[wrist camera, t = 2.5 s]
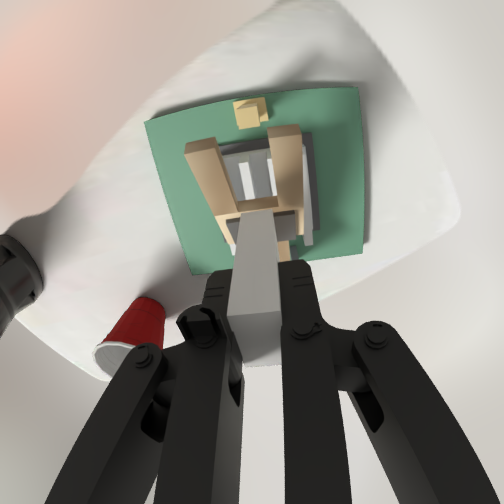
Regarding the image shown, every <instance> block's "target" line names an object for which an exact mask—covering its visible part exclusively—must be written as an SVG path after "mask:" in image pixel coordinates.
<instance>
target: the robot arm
mask: <svg viewBox="0 0 504 504" xmlns="http://www.w3.org/2000/svg"><path fill="white" fill-rule="evenodd" d="M42 289H43V284H42V279H41V275H40V273H39V270H38V268H37V266H36V264H35V262H34V261H33V259H32V258H31V256H30V255H29V253H28V252H27V251H26V250H25V249H24V247H23V246H22V245H21V244H20V243H19V242H17V241H16V240H15V239H13V238H12V237H10V236H7V235H0V338H1V336H2V335H3V333H4V331H5V329H6V328H7V326H8V325H9V324H10V322H11V321H12V319H13V318H14V316H15V315H16V314H17V313H19V312H20V311H22V310H23V309H25V308H26V307H28V306H29V305H31V304H33V303H34V302H35V301H36V300H37V298H38V297H39V296H40V294H41V293H42ZM205 289H206V291H205V292H204V298H203V301H202V304H201V305H196V306H192V307H190V308H188V309H186V310H185V311H184V312H183V313H181V314H180V315H179V317H178V319H177V321H176V324H177V325H178V327H179V329H180V331H181V333H182V335H183V337H184V339H185V341H184V342H183V343H181V344H178V345H175V346H172V347H169V348H165V349H162V350H161V349H160V348H159V346H158V345H156V344H154V343H148V342H145V343H142V344H138V345H137V346H135V347H134V348H132V349H131V350H130V352H129V353H128V354H127V355H126V357H125V359H124V360H123V362H122V363H121V365H120V367H119V368H118V370H117V372H116V373H115V375H114V376H113V378H112V380H111V381H110V383H109V385H108V387H107V388H106V390H105V391H104V393H103V395H102V396H101V398H100V400H99V401H98V403H97V405H96V407H95V408H94V410H93V412H92V413H91V415H90V417H89V419H88V420H87V422H86V424H85V426H84V428H83V429H82V431H81V433H80V435H79V437H78V438H77V440H76V442H75V444H74V446H73V448H72V450H71V451H70V453H69V455H68V457H67V459H66V461H65V463H64V465H63V467H62V469H61V471H60V473H59V475H58V477H57V479H56V481H55V483H54V485H53V487H52V489H51V491H50V493H49V495H48V497H47V500H46V501H45V504H144V503H145V501H146V499H147V496H148V494H149V492H150V490H151V488H152V486H153V483H154V481H155V479H156V477H157V482H156V489H155V496H154V503H153V504H239V485H240V466H241V444H242V424H243V404H244V384H245V381H244V376H243V373H242V361H243V363H244V366H245V367H259V366H271V365H282V383H283V384H282V385H283V414H284V454H285V455H284V458H285V504H352V498H351V486H350V475H349V465H348V457H347V449H346V441H345V433H344V426H343V419H342V413H341V405H340V399H339V393H338V390H339V391H347V393H348V395H349V397H350V399H351V401H352V404H353V406H354V407H355V410H356V412H357V413H358V416H359V418H360V420H361V422H362V424H363V426H364V428H365V430H366V432H367V435H368V436H369V439H370V441H371V443H372V445H373V447H374V449H375V451H376V454H377V456H378V458H379V460H380V462H381V464H382V466H383V468H384V471H385V473H386V475H387V477H388V479H389V481H390V484H391V486H392V488H393V490H394V492H395V495H396V497H397V499H398V501H399V504H500V501H499V499H498V497H497V495H496V493H495V490H494V488H493V486H492V484H491V482H490V480H489V478H488V476H487V474H486V472H485V470H484V468H483V466H482V464H481V462H480V460H479V459H478V457H477V455H476V453H475V451H474V449H473V447H472V446H471V444H470V442H469V440H468V439H467V437H466V435H465V433H464V432H463V430H462V428H461V427H460V425H459V423H458V422H457V420H456V418H455V417H454V415H453V414H452V412H451V410H450V409H449V407H448V405H447V404H446V402H445V401H444V399H443V398H442V396H441V394H440V393H439V391H438V390H437V389H436V387H435V385H434V384H433V382H432V381H431V379H430V378H429V376H428V375H427V373H426V372H425V371H424V369H423V368H422V366H421V365H420V363H419V362H418V360H417V359H416V358H415V356H414V355H413V353H412V352H411V351H410V349H409V348H408V346H407V345H406V343H405V342H404V341H403V339H402V338H401V337H400V335H399V334H398V333H397V331H396V330H395V329H394V328H393V327H392V326H391V325H389V324H387V323H385V322H382V321H370V322H366V323H364V324H362V325H361V326H359V327H358V328H357V330H356V331H353V330H344V329H339V328H335V327H333V326H331V325H329V324H328V323H327V322H326V321H325V320H324V319H323V318H322V315H321V312H320V307H319V303H318V298H317V294H316V289H315V285H314V280H313V277H312V272H311V267H310V265H309V264H308V263H307V262H306V261H305V260H304V259H298V260H291V261H283V262H280V259H279V251H278V244H277V237H276V230H275V224H274V217H273V211H272V209H268V210H261V211H254V212H247V213H241V216H240V223H239V230H238V237H237V244H236V251H235V258H234V265H233V269H225V270H217V271H214V272H213V273H212V275H211V276H210V277H209V278H208V280H207V284H206V288H205ZM157 474H158V476H157Z"/></svg>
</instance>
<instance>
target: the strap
mask: <svg viewBox="0 0 504 504" xmlns="http://www.w3.org/2000/svg"><path fill="white" fill-rule="evenodd" d="M267 133H268V139H269V145H270V151H271V158H272V164H273V170H274V177H275V184H276V191H277V196H270V197H263V198H256V199H249V200H243V201H237V198H236V195H235V192H234V189H233V186H232V183H231V180H230V177H229V175H228V172H227V169H226V166H225V163H224V160H223V157H222V154H221V152H220V149H219V146H218V143H217V140H216V137H210V138H205V139H201V140H196V141H192V142H188V143H186V144H185V150H184V156H185V158H186V160H187V162H188V164H189V166H190V168H191V170H192V172H193V174H194V176H195V178H196V180H197V182H198V184H199V187H200V189H201V191H202V193H203V195H204V197H205V199H206V201H207V203H208V205H209V207H210V209H211V211H212V213H213V215H214V217H215V219H216V221H217V223H218V225H219V227H220V229H221V231H222V233H223V235H224V237H225V239H226V241H227V243H228V244H235V245H236V244H237V237H238V230H239V223H240V216H241V213H247V212H254V211H261V210H268V209H272V211H273V217H274V224H275V230H276V237H277V244H278V251H279V259H280V262H283V261H290V250H289V240H296V235H303V234H304V192H303V155H302V134H301V131H300V128H299V124H290V125H282V126H274V127H267Z"/></svg>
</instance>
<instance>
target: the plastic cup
mask: <svg viewBox="0 0 504 504" xmlns="http://www.w3.org/2000/svg"><path fill="white" fill-rule="evenodd" d="M164 324H165V311H164V308H163V307H162V306H161V305H160V304H159V303H158V302H157V301H155V300H153V299H150V298H147V297H140V298H138V299H136V300H135V301H133V303H132V304H131V305H130V307H129V308H128V309H127V311H125V312H124V314H123V315H122V316H121V318H120V319H119V321H118V322H117V323H116V325H115V326H114V328H113V329H112V330H111V332H110V333H109V334H108V335H107V337H106V338H105V339H104V340H103V342H101V343H100V344H98V345H97V346H96V347H95V349H94V351H93V352H92V355H93V360H94V362H95V363H96V365H97V366H98V367H99V369H100V370H101V371H102V372H104V373H105V374H106V375H108V376H109V377H110V378H113V376H114V375H115V373H116V372H117V370H118V368H119V367H120V365H121V363H122V362H123V360H124V359H125V357H126V355H127V354H128V353H129V352H130V350H131V349H132V348H134V347H135V346H137V345H138V344H142V343H145V342H148V343H154V344H156V345H158V346H159V348H160V349H161V350H162V349H163V340H164Z"/></svg>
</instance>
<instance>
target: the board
mask: <svg viewBox="0 0 504 504" xmlns="http://www.w3.org/2000/svg"><path fill="white" fill-rule="evenodd" d="M144 124H145V128H146V132H147V136H148V140H149V143H150V147H151V150H152V154H153V158H154V161H155V164H156V168H157V171H158V175H159V178H160V181H161V185H162V188H163V191H164V194H165V197H166V201H167V204H168V207H169V210H170V213H171V216H172V219H173V222H174V225H175V228H176V231H177V234H178V237H179V240H180V243H181V245H182V248H183V251H184V254H185V257H186V259H187V262H188V265H189V268H190V270H191V273H192V275H199V274H208V273H213V272H214V271H217V270H225V269H233V265H234V258H235V251H236V245H235V244H228V243H227V241H226V239H225V237H224V235H223V233H222V231H221V229H220V227H219V225H218V223H217V221H216V219H215V217H214V215H213V213H212V211H211V209H210V207H209V205H208V203H207V201H206V199H205V197H204V195H203V193H202V191H201V189H200V187H199V184H198V182H197V180H196V178H195V176H194V174H193V172H192V170H191V168H190V166H189V164H188V162H187V160H186V158H185V156H184V150H185V144H186V143H188V142H192V141H196V140H201V139H205V138H210V137H216V140H217V143H218V146H219V149H220V152H221V154H222V157H223V160H224V163H225V166H226V169H227V172H228V175H229V177H230V180H231V183H232V186H233V189H234V192H235V195H236V198H237V201H243V200H249V199H256V198H263V197H270V196H277V191H276V184H275V177H274V170H273V164H272V158H271V151H270V145H269V139H268V133H267V127H274V126H282V125H290V124H299V128H300V131H301V134H302V155H303V192H304V234H303V235H296V240H289V250H290V261H291V260H298V259H304V260H305V261H312V260H319V259H326V258H334V257H341V256H348V255H355V254H362V253H363V234H364V153H363V135H362V121H361V110H360V100H359V91H358V87H335V88H315V89H302V90H291V91H282V92H274V93H266V94H259V95H253V96H247V97H241V98H235V99H230V100H225V101H220V102H215V103H211V104H206V105H202V106H198V107H194V108H190V109H186V110H182V111H178V112H175V113H171V114H168V115H164V116H161V117H158V118H154V119H151V120H148V121H145V122H144Z"/></svg>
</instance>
